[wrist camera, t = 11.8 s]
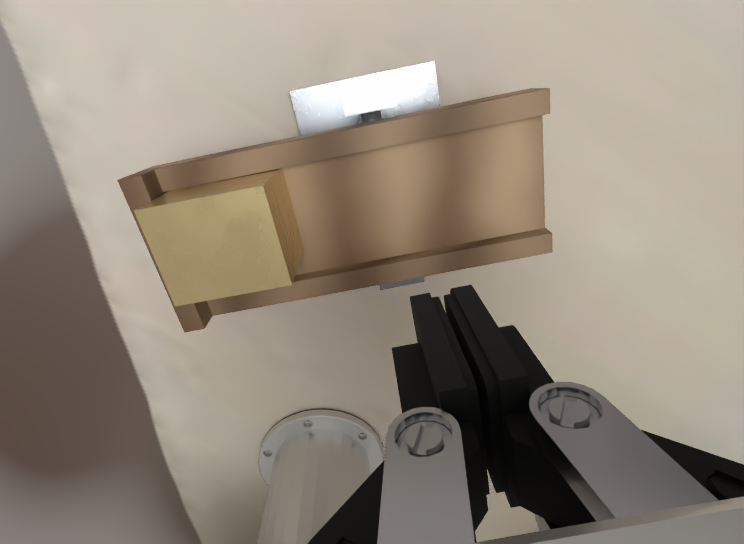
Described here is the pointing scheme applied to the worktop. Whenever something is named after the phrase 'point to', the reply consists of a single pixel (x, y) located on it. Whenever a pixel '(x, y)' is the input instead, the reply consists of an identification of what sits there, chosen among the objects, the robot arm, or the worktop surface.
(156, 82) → the worktop surface
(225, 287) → the block
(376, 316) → the worktop surface
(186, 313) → the board
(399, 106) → the pivot stand
